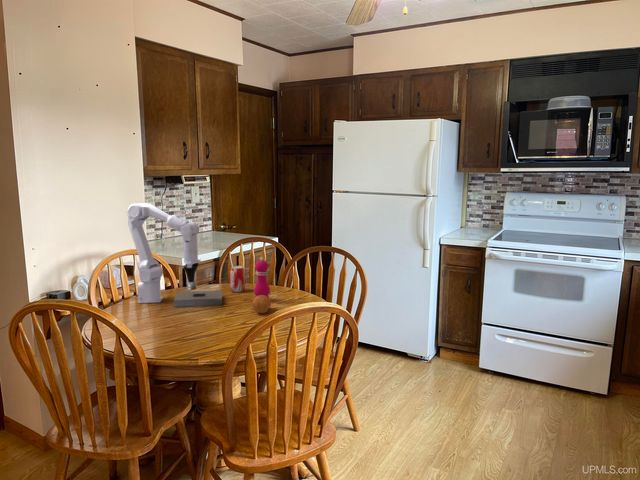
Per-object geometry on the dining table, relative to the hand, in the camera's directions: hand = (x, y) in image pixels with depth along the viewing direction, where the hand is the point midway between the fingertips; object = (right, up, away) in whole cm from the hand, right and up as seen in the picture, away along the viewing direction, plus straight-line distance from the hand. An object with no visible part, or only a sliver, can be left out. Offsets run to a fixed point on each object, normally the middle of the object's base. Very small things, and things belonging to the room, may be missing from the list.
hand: (191, 280), depth 208 cm
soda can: (+16, -7, +25) cm, 30 cm away
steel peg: (0, -4, 0) cm, 4 cm away
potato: (+32, -12, -9) cm, 35 cm away
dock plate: (+2, -10, +5) cm, 11 cm away
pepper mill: (+30, -10, +8) cm, 32 cm away
